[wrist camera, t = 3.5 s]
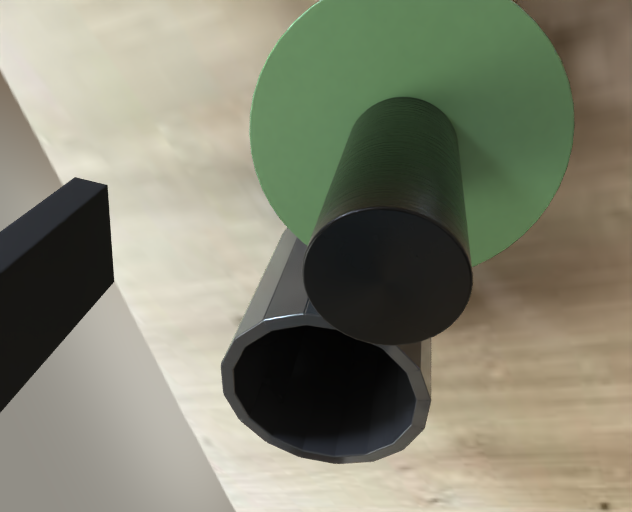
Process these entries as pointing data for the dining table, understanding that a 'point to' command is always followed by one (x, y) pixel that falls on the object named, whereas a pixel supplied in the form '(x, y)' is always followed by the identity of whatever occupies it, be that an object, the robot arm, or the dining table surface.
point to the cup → (320, 375)
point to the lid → (408, 152)
